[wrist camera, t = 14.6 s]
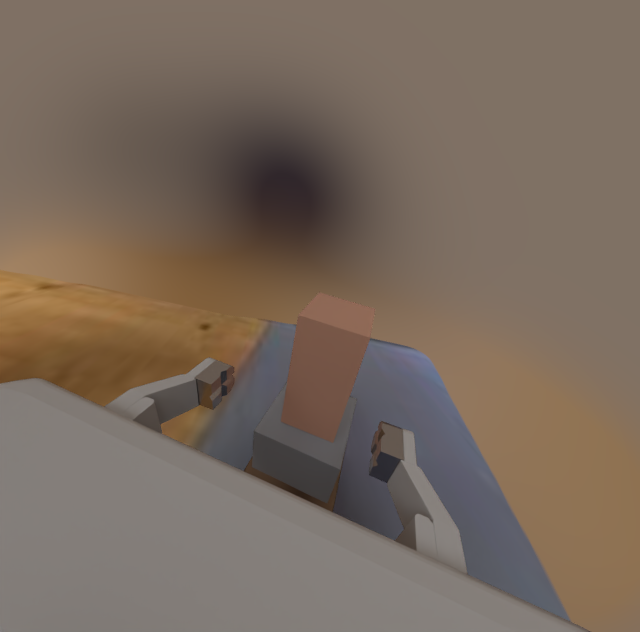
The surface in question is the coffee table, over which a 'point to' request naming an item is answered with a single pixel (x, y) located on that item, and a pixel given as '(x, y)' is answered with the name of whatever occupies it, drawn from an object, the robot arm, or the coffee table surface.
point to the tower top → (300, 451)
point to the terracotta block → (325, 363)
